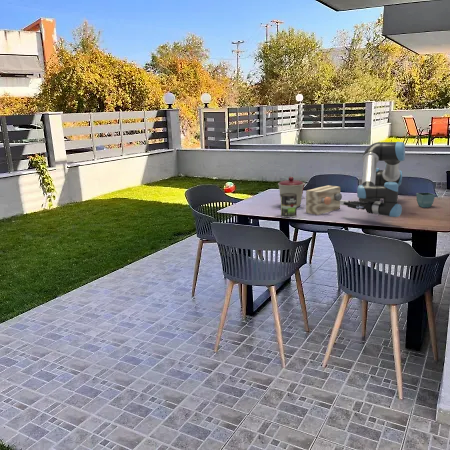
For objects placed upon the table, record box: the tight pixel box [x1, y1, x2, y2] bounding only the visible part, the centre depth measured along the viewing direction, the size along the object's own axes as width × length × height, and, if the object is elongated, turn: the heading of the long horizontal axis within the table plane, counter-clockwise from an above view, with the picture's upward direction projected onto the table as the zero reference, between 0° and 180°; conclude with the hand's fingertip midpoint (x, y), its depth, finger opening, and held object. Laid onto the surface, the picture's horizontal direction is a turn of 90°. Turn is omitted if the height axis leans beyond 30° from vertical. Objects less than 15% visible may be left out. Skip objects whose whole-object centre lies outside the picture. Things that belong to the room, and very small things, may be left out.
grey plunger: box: [334, 192, 343, 201], centre depth 305 cm, size 12×5×5 cm, turn 42°
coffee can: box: [280, 193, 298, 218], centre depth 292 cm, size 10×10×14 cm
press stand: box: [305, 184, 342, 216], centre depth 302 cm, size 10×24×15 cm, turn 132°
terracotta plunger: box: [321, 197, 331, 205], centre depth 295 cm, size 12×5×5 cm, turn 42°
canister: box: [277, 176, 305, 208], centre depth 317 cm, size 18×18×21 cm
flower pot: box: [415, 192, 436, 209], centre depth 303 cm, size 9×9×9 cm
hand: (340, 202), depth 284 cm, fingers closed
